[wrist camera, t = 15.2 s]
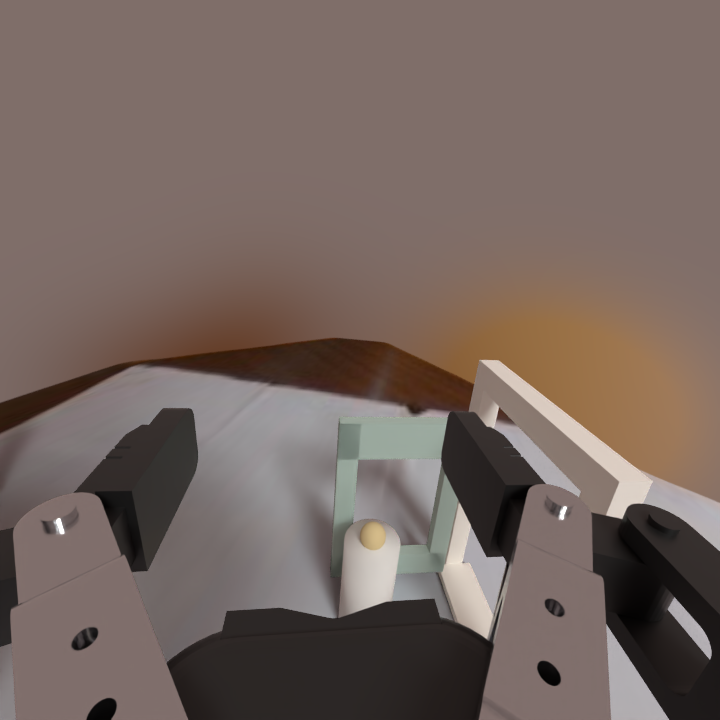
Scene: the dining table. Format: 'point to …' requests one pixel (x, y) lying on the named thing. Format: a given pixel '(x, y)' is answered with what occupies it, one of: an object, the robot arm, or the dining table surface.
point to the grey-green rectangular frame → (392, 443)
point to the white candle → (368, 565)
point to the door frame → (563, 447)
